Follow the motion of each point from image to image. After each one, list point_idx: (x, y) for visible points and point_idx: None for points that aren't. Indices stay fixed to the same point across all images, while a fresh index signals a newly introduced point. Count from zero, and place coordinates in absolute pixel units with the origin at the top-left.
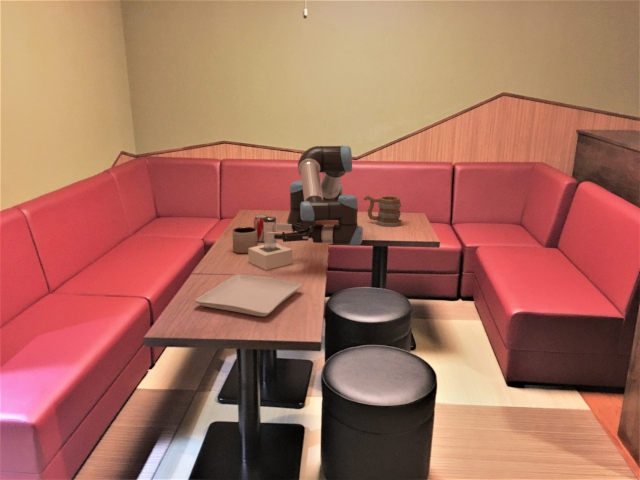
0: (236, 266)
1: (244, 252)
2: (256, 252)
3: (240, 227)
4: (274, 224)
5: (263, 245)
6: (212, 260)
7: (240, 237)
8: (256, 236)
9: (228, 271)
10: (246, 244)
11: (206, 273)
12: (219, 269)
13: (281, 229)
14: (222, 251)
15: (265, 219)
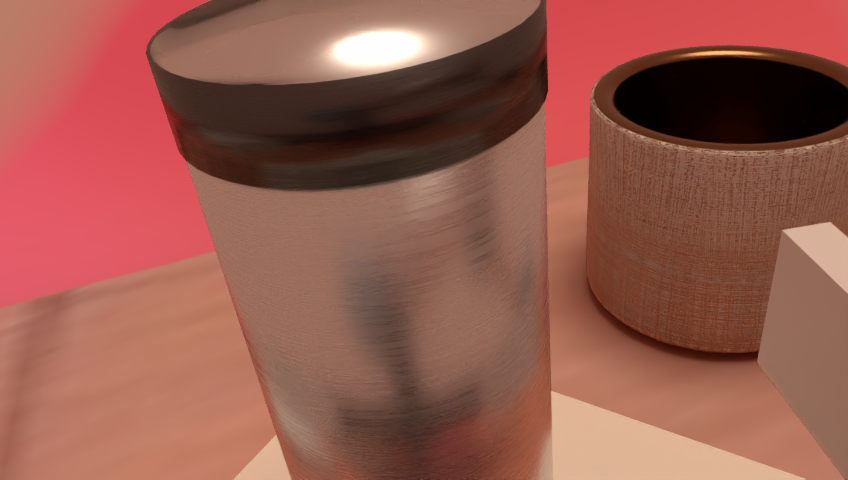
0: (240, 422)
1: (606, 306)
2: (244, 477)
3: (770, 52)
4: (307, 270)
5: (563, 416)
6: None
7: (595, 156)
8: (792, 218)
9: (91, 431)
10: (625, 250)
11: (52, 332)
12: (148, 355)
13: (836, 443)
14: (572, 196)
15: (179, 25)
